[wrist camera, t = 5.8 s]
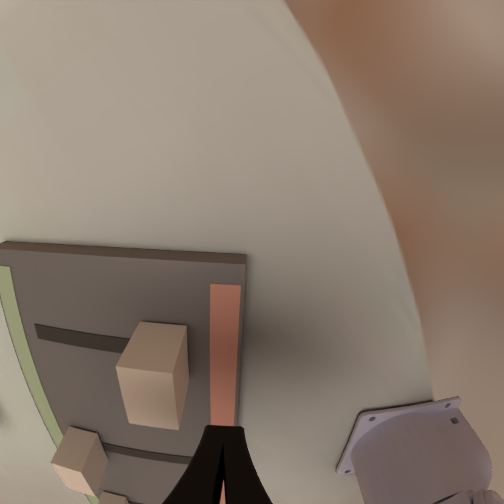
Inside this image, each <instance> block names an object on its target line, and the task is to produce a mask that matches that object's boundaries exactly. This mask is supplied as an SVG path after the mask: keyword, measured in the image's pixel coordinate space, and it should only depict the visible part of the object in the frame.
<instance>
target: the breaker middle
mask: <svg viewBox="0 0 504 504" xmlns="http://www.w3.org/2000/svg"><path fill="white" fill-rule="evenodd" d="M107 463H108V458H107V456H106V454H105V451H104V449H103V446H102V444H101V442H100V439H99V436H98V434H97V433H93V432H89V431H85V430H81V429H77V428H73V427H70V426H69V427H68V429H67V431H66V433H65V435H64V437H63V439H62V441H61V443H60V445H59V447H58V449H57V451H56V453H55V455H54V457H53V459H52V461H51V464H52V466H53V467H54V469H55V470H56V472H57V473H58V475H59V476H60V478H61V479H62V481H63V482H64V484H65V485H66V487H67V488H69V489H72V490H75V491H78V492H81V493H84V494H88V495H91V496H95V497H96V495H97V492H98V489H99V486H100V483H101V480H102V477H103V474H104V472H105V469H106V466H107Z"/></svg>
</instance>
